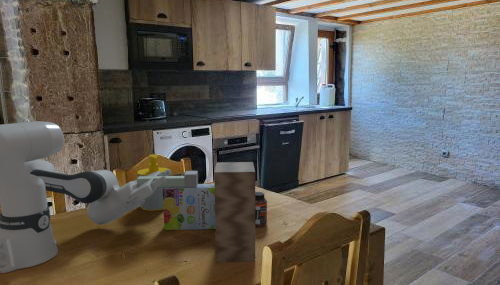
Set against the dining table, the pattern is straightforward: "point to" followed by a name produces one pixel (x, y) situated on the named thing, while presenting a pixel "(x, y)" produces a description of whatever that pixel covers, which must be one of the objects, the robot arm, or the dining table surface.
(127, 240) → the dining table surface
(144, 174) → the grey canister
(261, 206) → the supplement bottle
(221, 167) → the walnut stand
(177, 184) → the bar
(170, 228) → the snack box
